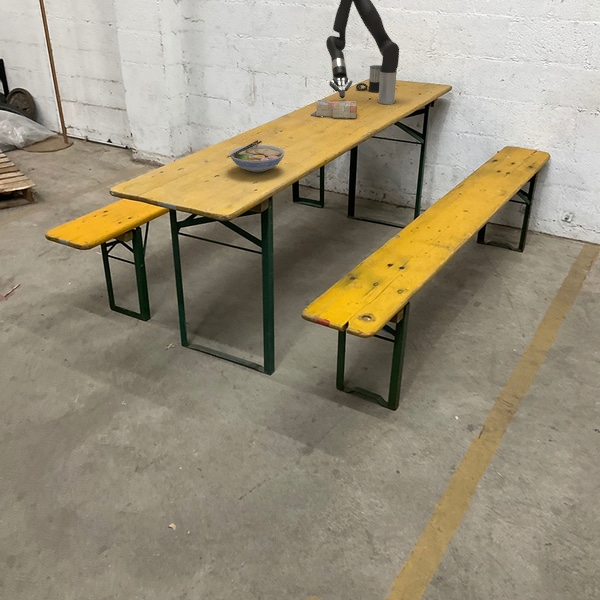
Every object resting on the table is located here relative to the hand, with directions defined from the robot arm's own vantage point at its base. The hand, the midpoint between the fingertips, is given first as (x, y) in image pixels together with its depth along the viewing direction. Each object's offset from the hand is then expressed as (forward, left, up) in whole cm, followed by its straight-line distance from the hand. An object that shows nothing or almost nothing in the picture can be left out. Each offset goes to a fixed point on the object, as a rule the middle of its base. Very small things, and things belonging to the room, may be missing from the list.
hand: (342, 97), depth 334 cm
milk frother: (-64, -4, -9) cm, 64 cm away
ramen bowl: (+102, -1, -9) cm, 102 cm away
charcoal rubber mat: (+5, -4, -9) cm, 11 cm away
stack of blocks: (-1, -3, -5) cm, 6 cm away
